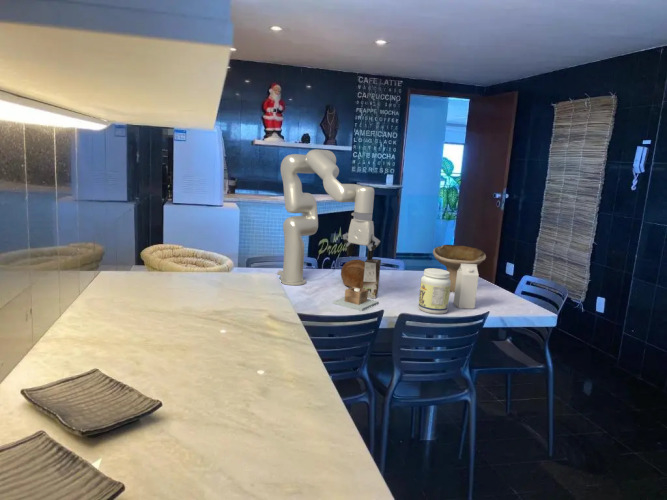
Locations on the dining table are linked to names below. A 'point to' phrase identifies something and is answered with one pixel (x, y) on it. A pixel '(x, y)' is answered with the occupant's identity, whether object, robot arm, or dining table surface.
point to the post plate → (355, 306)
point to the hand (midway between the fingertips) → (359, 257)
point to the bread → (353, 273)
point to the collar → (356, 296)
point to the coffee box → (371, 277)
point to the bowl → (457, 259)
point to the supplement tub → (434, 291)
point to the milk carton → (466, 286)
